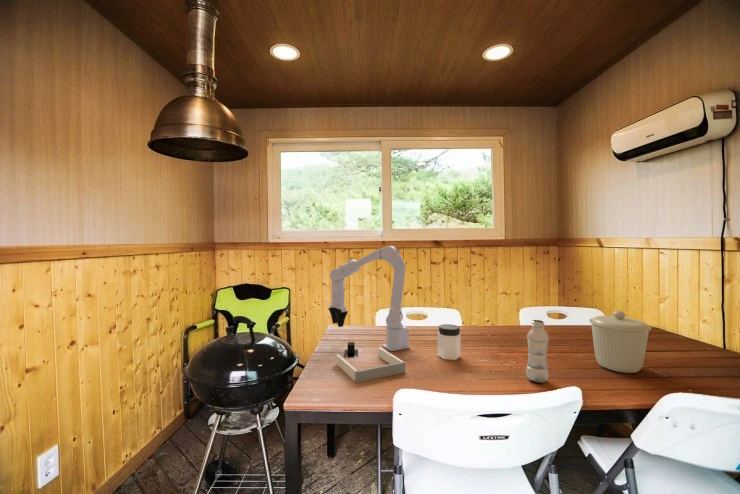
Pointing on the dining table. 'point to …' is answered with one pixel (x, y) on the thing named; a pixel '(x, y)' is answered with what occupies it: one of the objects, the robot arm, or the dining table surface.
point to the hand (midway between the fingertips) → (337, 324)
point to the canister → (619, 342)
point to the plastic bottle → (537, 352)
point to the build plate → (351, 350)
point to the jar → (449, 342)
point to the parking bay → (376, 372)
